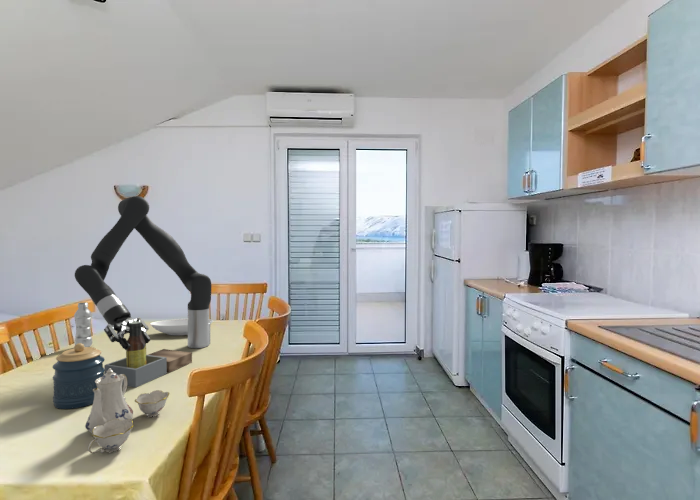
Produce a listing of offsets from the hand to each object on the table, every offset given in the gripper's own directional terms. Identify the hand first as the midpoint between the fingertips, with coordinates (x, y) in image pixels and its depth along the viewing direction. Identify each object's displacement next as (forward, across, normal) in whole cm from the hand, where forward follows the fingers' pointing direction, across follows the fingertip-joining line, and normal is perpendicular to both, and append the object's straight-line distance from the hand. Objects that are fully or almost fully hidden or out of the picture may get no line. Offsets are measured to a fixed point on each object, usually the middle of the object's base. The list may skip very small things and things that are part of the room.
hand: (138, 345), depth 135 cm
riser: (+8, +14, +9) cm, 18 cm away
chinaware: (+26, -29, -9) cm, 40 cm away
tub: (+8, 0, +9) cm, 12 cm away
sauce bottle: (+8, 0, +9) cm, 12 cm away
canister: (+7, -20, +10) cm, 23 cm away
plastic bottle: (-28, +20, +45) cm, 57 cm away
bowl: (-12, +55, +29) cm, 63 cm away
